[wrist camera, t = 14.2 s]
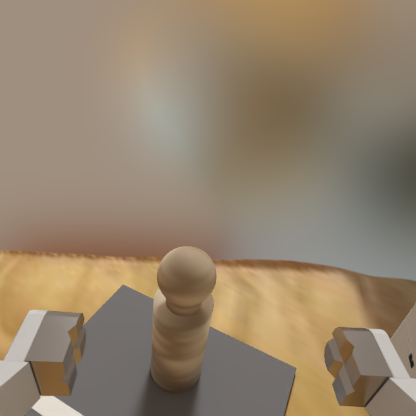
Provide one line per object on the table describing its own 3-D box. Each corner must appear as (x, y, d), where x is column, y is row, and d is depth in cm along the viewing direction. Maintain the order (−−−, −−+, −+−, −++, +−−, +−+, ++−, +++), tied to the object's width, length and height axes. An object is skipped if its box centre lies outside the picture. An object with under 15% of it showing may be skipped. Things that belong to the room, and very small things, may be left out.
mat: (9, 407, 29) (7, 403, 29) (123, 287, 42) (123, 284, 41) (241, 570, 23) (243, 568, 22) (294, 371, 35) (296, 367, 35)
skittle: (140, 376, 32) (141, 261, 24) (167, 337, 36) (177, 225, 27) (186, 403, 31) (204, 290, 22) (209, 358, 35) (232, 247, 26)
